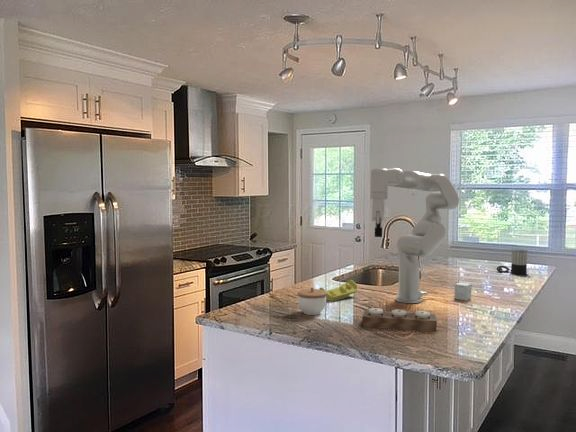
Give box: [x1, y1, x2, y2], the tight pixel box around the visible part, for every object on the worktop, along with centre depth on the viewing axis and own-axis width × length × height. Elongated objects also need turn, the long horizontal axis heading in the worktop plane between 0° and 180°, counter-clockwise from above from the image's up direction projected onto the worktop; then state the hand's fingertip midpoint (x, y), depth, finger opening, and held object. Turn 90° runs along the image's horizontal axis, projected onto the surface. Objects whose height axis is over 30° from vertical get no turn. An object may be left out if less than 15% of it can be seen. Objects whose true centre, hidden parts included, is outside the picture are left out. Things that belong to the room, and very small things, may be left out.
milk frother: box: [496, 248, 528, 276], centre depth 303 cm, size 14×16×15 cm
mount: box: [361, 309, 438, 332], centre depth 192 cm, size 28×10×4 cm, turn 76°
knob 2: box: [391, 308, 407, 317], centre depth 192 cm, size 6×6×5 cm
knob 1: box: [368, 307, 384, 316], centre depth 194 cm, size 6×6×5 cm
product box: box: [454, 282, 472, 302], centre depth 236 cm, size 6×6×7 cm
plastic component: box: [318, 279, 359, 302], centre depth 240 cm, size 20×7×10 cm
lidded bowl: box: [297, 287, 327, 316], centre depth 211 cm, size 13×13×11 cm
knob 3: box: [414, 310, 431, 319], centre depth 190 cm, size 6×6×5 cm
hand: (378, 236), depth 219 cm, fingers closed
